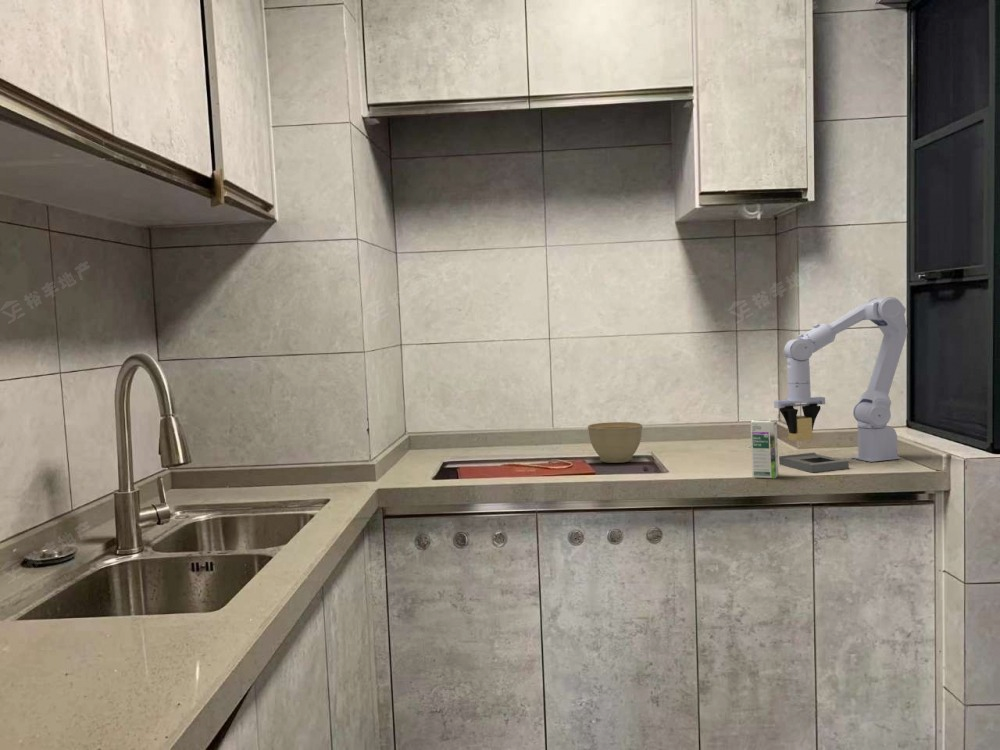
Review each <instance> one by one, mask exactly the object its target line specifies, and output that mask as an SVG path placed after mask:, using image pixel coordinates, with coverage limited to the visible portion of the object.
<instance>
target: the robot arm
mask: <svg viewBox="0 0 1000 750" xmlns="http://www.w3.org/2000/svg"><path fill="white" fill-rule="evenodd" d="M905 313H906V307H905V306H904V305H903V303H902V302H901V300H899V299H898V298H896V297H893V296H889V297H884V298H883V297H881V298H879V297H878V298H871V299H869V300H868V301H866V302H862V303H861V304H859V305H857V306H856V307H854V308H853V309H851V310H850V311H847V312H846V313H845V314H843V315H842V316H840V317H839V318H837V319H835V320H834V321H832V322H830V323H829V324H827V323H815V324H814V325H813V326H812V329H810V330H808V331H806V332H805V333H800V334H798V335H797V337H798V338H797V339H796V338H794V339H790V340H788V341H787V342H786V344H785V345H784V348H783V350H782V353H783V355H784V357H785V358H786V361H787V362H786V364H787V365H786V371H787V372H786V373H787V394H788V395H787V396H788V397H787V398H786V399H780V400H773V408H774V409H779V412H780V413H781V415H782V416H783V418H784V421H785V424H786V426H787V431H788V430H789V433H792V434H796V417H797V416H798V411H799V409H798V408H796V407H801V409H802V412H803V416H806V417H811V418H812V432H813V431H814V426H815V423H816V419H817V417H818V414H819V412H820V411H821V405H826V397H825V396H814V397H813V396H812V394H811V371H810V370H811V369H810V368H811V367H810V366H811V365H810V358H811V357H812V356H813V354H814V353H816V352H817V351H819V350H821V349H823V348H824V347H826V346H828V345H830V344H831V343H833V342H834V341H835V339H836V337H837V335H838V334H839V333H841V332H843V331H845V330H847V329H849V328H851V327H853V326H854V325H857V324H858V323H860V322H862V321H868V320H869V321H871V323H874V325H876V326H877V327H878V328H879V330H880V331H881V333H882V334H883V337H882V340H881V344H880V347H879V350H878V353H877V357H876V360H875V363H874V366H873V370H872V373H871V376H870V378H869V381H868V382H869V383H868V386H867V389H866V390H865V392H863V393H862V394H861V395H860V398H859V401H858V402H857V403H856V404H855V405H854V407H853V410H852V415H853V418H854V419H855V421H856V422H857V451H858V452H857V455H851V456H850V458H851V459H854V460H855V459H856V460H860V461H865V462H871V463H874V462H882V461H891V460H900V459H901V457H900V456H899V455H898V452H899V451H898V434H897V430H896V429H895V428H894V427H893V426H890V425H887V424H889V422H890V420H891V418H892V417H891V404H892V401H891V399H890V395H889V394H890V391H891V388H892V387H891V386H892V385H893V382H894V378H895V374H896V371H897V367H898V365H899V362H900V358H901V355H902V351H903V349H904V345H905V342H906V339H907V335H908V327H907V322H906V316H905Z"/></svg>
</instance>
